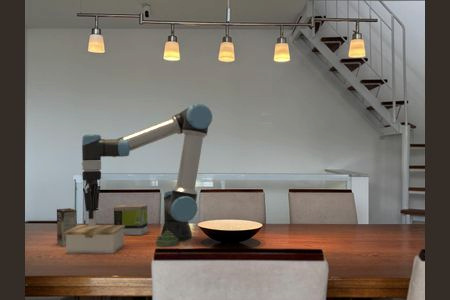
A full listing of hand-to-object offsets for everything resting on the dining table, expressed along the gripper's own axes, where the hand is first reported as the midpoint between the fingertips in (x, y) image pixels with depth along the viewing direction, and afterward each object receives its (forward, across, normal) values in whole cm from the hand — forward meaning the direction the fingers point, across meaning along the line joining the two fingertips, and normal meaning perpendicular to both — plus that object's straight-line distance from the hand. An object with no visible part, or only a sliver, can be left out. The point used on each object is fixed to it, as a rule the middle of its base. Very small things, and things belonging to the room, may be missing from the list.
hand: (92, 226), depth 163 cm
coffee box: (+11, -14, -18) cm, 25 cm away
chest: (+11, -4, 0) cm, 12 cm away
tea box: (+11, -38, +5) cm, 40 cm away
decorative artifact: (+11, -13, +29) cm, 34 cm away
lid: (+4, -4, 0) cm, 5 cm away
